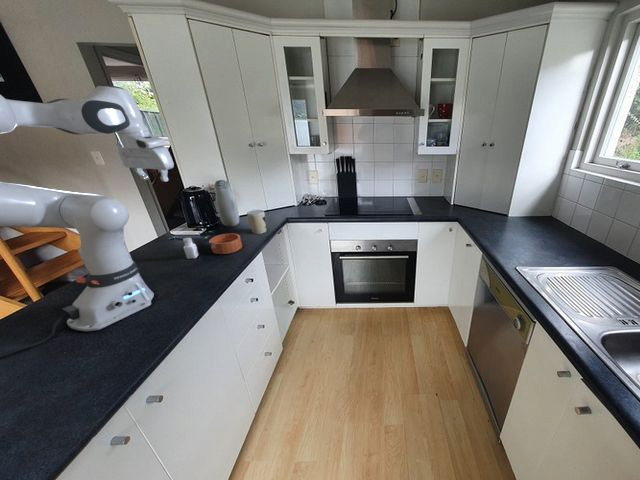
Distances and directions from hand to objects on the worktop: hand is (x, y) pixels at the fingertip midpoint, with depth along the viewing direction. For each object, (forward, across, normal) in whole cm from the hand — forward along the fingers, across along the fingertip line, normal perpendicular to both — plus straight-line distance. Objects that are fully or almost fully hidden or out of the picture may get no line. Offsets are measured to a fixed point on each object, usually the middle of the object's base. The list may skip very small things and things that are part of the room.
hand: (155, 180), depth 101 cm
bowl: (+41, 0, +19) cm, 45 cm away
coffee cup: (+44, -1, +44) cm, 62 cm away
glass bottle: (+44, -23, +48) cm, 69 cm away
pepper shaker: (+40, -9, +7) cm, 41 cm away
